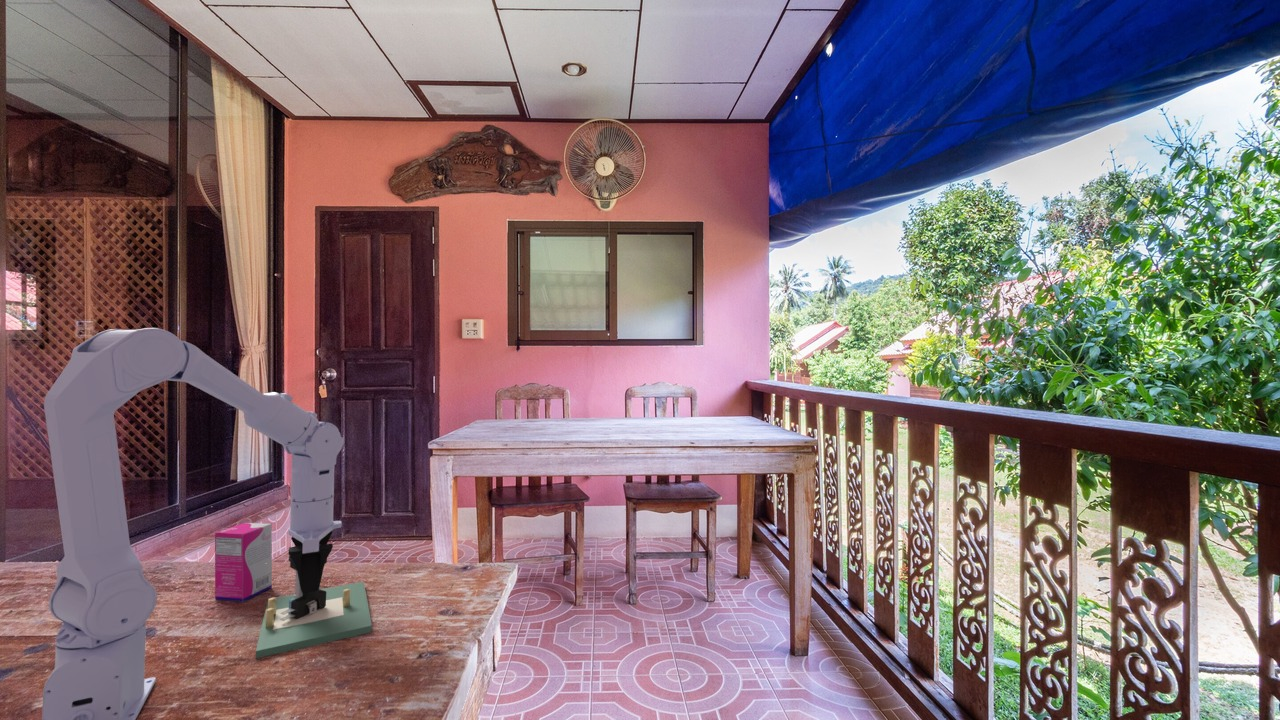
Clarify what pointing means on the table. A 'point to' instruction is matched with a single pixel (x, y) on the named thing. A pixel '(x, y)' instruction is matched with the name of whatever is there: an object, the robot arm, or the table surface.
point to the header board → (315, 621)
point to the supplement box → (243, 561)
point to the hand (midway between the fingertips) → (310, 584)
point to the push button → (304, 600)
